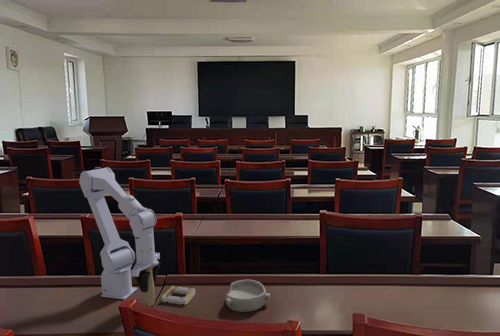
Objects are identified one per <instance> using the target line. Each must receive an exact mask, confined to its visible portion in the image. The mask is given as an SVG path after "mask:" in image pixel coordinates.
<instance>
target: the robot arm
mask: <svg viewBox="0 0 500 336" xmlns="http://www.w3.org/2000/svg"><path fill="white" fill-rule="evenodd" d="M115 175H116V174H115V173H114V172H113V170H112V168H110V167H109V166H108V167H107V166H106V167H103V168H98V169H93V170H84V171H82V172H81V173H80V177H79V181H78V183H79V185H80V189H81V191H82V193H83V196H84V198H87V201H88V204H89V206H90V209H91V211H92V214H93V217H94V219H95V221H96V225H97V227H98V229H99V232H100V235H101V238H102V240H103V243H104V246H103V248H102V249H101V251H100V252H99V255H100V258H101V266H102V268H103V271H102V273H101V276H100V283H101V293H102V294H101V295H100V296H101V297H102V298H110V299H118V300H126V299H128V298H129V297H131V295H133V294H134V292H136V290H138V287H139V290H140V292H141V293H142V292H147V291H148V281H149V276H150V273H151V272H146V271H145V269H146V268H148V267H151V266H152V264H153V265H156V266H155V267H153V268H152V273H153V281H154V286H155V284H156V281H157V277H158V272H159V269H160V267H161V262H160V261H159V260H160V258H161V255H160V254H161V253H160V252H156V251H155V250H156V249H155V237H154V226H156V224H157V223H158V222H157V216H156V213H155V211H154V210H153V209H151V208H147V207H144V206H143V205H142V204H141V203H140V202H139V201H138V200H137V199H136V198H135V197H134V195H132V194H131V195H130V194H129V195H128V194H127V193H126V192H125V190H124V189H123V188H122V186H121V185H120V184H119V183H118V181H116V176H115ZM106 194H108V195H110V197H112V198H113V199H114V200H116V202H117V203H118V204H117V206H118V209H119V210H120V211H121V212H122V213H123V214H124V215H125V216H126V217H127V219H128V220H129V226H130V228H131V230H132V235H133V237H134V242H135V243H134V244H135V251H134V250H133V248H131V246H130V244H129V241H126V240H124V239H121V237H120V235H119V231H118V230H117V227H116V225H115V222H114V219H113V217H112V214H111V212H110V209H109V207H108V203H107V201H106V198H105V197H106ZM135 260H136V261H137V262H136V261H135ZM134 263H135V264H134ZM133 264H134V266H133ZM132 267H133V268H132ZM131 268H132V269H131ZM132 277H133V278H134V279H135V281H136V282H137V284H138V287H135V286H134V287H133V285H132V284H133V283H132Z"/></svg>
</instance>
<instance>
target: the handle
mask: <svg viewBox="0 0 500 336" xmlns="http://www.w3.org/2000/svg"><path fill="white" fill-rule="evenodd" d="M136 262H137V260H136V261H135V263H136ZM155 266H156V265H153V264H152V266H151V267H148V268H146V269H145V271H146V272H151V273H150V276H149V281H148V291H147V292H141V295H142V300H143V305H148V306H149V307H153V306H154V304H155V293H156V292H155V285H154V281H153V273H152V268H153V267H155Z"/></svg>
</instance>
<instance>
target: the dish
mask: <svg viewBox="0 0 500 336" xmlns="http://www.w3.org/2000/svg"><path fill="white" fill-rule="evenodd" d="M270 299H271V293H269V292H268V293H267V290H266V289H265V285H263V283H261V282H260V281H257V280H253V279H239V280H236V281H233V282H231V283H230V285H229V290H228V292H227V293H226V295H225V304H226V305H227V308H229V310H232V311H235V312H241V313H247V312H253V311H257V310H258V309H261V308H262V307H263V306H265V304H266V303H267V302H266V301H269V300H270Z"/></svg>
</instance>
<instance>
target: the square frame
mask: <svg viewBox="0 0 500 336" xmlns="http://www.w3.org/2000/svg"><path fill="white" fill-rule="evenodd" d="M174 294H179V295H185V296H175V295H174ZM173 295H174V296H173ZM195 295H196V288H195V287H192V288H191V287H185V286H178V285H177V286H176V285H175V286H174V285H171V286H170V288H169V289H167V290H166V292H165V293H163V294H162V295H161V302H162V303H166V302H168V303H167V304H174V303H175V305H182V304H184V305H185V306H187V305H188V303H189V302H190V301H191V300H192V299H193V298H194V297H195ZM186 304H187V305H186Z"/></svg>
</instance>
